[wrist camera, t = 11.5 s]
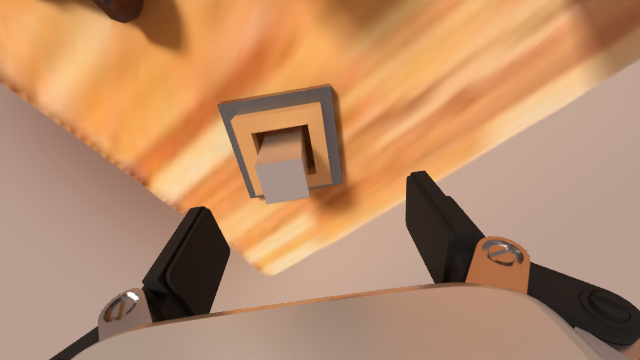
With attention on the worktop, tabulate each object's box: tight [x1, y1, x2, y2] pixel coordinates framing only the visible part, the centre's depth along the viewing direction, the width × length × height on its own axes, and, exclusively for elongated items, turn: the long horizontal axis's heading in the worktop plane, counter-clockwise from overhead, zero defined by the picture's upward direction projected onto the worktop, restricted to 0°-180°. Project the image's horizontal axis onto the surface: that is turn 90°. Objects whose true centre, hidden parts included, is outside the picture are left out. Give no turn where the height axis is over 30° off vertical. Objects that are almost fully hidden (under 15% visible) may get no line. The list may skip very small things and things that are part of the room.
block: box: [254, 125, 310, 204], centre depth 28 cm, size 4×4×10 cm
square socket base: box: [218, 84, 342, 198], centre depth 31 cm, size 13×13×4 cm
